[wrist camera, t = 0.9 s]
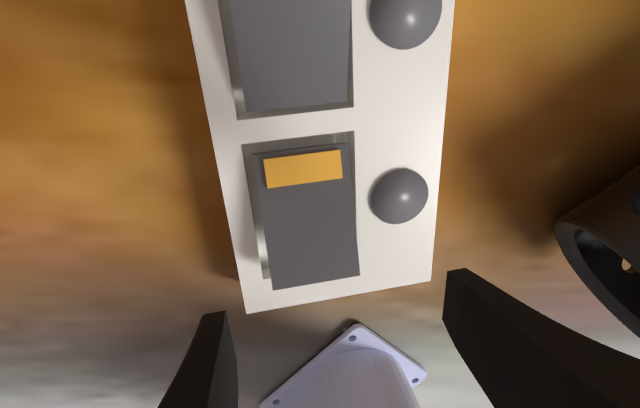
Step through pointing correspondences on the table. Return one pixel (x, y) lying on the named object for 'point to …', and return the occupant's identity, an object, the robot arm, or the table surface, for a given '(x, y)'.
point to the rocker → (307, 214)
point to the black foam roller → (607, 246)
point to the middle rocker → (291, 51)
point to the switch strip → (340, 126)
